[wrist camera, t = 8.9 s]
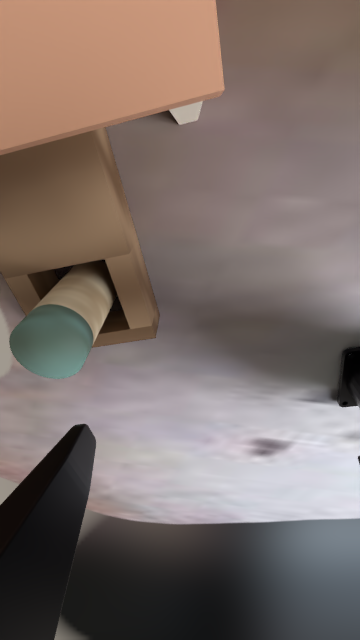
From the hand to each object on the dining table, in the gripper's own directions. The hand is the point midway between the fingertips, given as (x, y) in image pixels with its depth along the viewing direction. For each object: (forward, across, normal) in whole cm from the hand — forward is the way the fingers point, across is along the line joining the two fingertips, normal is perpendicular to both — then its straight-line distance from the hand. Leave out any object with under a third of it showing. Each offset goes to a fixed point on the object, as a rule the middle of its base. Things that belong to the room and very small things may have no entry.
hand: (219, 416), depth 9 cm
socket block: (+13, +8, -5) cm, 16 cm away
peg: (+12, +8, 0) cm, 15 cm away
